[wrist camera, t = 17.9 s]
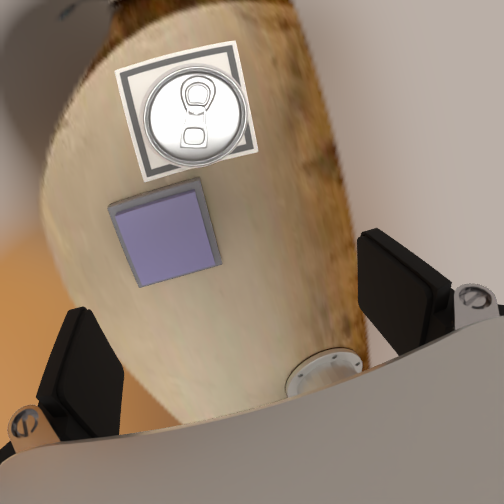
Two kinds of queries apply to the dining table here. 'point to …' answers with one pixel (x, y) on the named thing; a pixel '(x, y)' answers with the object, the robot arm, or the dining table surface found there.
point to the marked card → (145, 73)
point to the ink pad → (166, 232)
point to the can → (193, 115)
